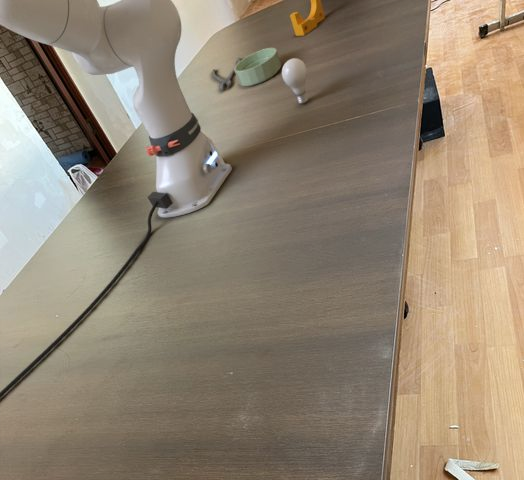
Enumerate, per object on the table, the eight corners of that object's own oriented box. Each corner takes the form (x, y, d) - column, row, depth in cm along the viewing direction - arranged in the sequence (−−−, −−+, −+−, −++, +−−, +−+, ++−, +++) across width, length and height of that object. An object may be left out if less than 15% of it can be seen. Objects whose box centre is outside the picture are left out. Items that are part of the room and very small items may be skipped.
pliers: (239, 56, 175) (240, 80, 157) (240, 59, 175) (241, 82, 158) (212, 69, 177) (209, 93, 160) (213, 71, 178) (211, 96, 161)
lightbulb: (309, 94, 132) (296, 51, 124) (319, 99, 127) (306, 55, 120) (288, 106, 132) (274, 64, 124) (298, 111, 127) (283, 68, 120)
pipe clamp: (304, 35, 166) (298, 14, 162) (295, 35, 169) (289, 15, 165) (328, 17, 169) (323, -4, 165) (319, 18, 172) (314, -3, 168)
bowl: (277, 78, 149) (271, 61, 145) (236, 92, 154) (229, 76, 151) (285, 59, 157) (280, 42, 154) (245, 73, 163) (239, 57, 160)
